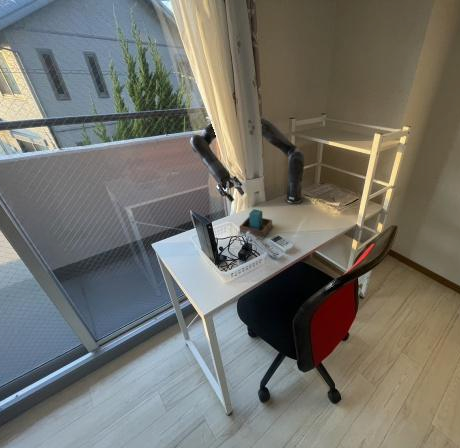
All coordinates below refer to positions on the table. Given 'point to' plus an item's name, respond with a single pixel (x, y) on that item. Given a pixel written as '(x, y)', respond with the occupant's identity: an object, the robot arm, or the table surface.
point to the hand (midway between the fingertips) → (238, 197)
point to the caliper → (255, 240)
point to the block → (256, 219)
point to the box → (260, 233)
